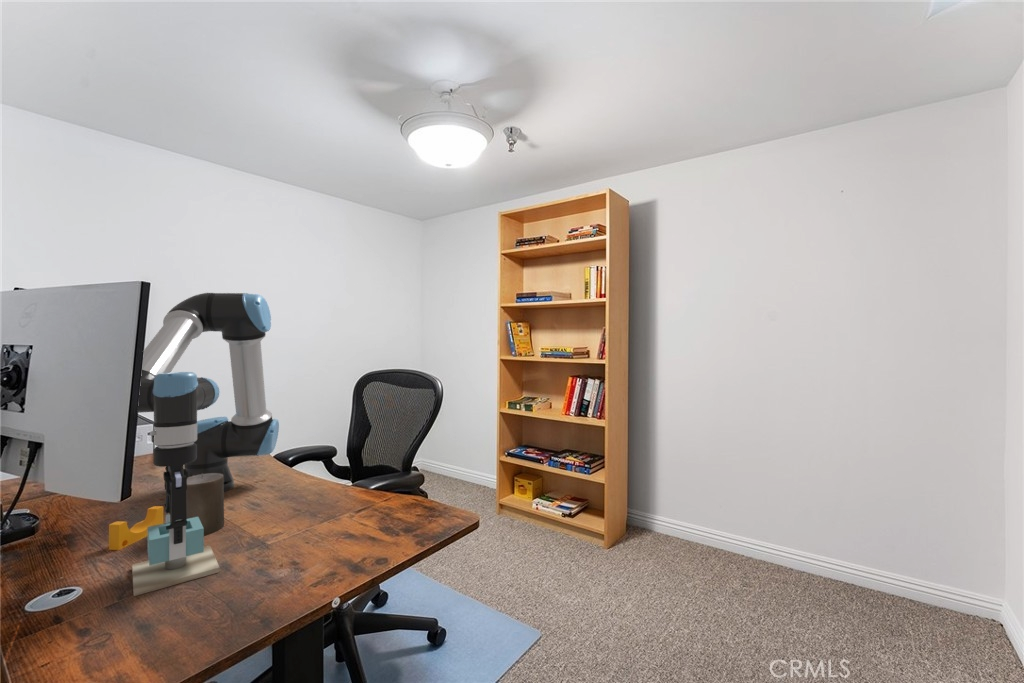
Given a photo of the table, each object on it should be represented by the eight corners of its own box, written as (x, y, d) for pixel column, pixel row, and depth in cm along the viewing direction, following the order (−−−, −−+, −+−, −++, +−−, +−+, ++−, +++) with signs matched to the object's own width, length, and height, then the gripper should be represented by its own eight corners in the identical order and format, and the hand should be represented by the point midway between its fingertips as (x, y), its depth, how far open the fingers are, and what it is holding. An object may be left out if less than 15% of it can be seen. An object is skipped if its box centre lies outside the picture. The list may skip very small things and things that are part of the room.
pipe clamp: (148, 530, 118) (148, 505, 118) (163, 531, 117) (163, 506, 117) (102, 551, 106) (102, 524, 106) (119, 552, 105) (119, 524, 105)
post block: (132, 569, 97) (132, 531, 97) (209, 549, 106) (209, 515, 106) (133, 596, 87) (133, 554, 87) (219, 572, 96) (219, 534, 96)
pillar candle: (232, 527, 119) (232, 471, 119) (191, 542, 110) (191, 481, 110) (211, 521, 123) (211, 466, 124) (170, 534, 115) (170, 475, 115)
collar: (147, 550, 97) (147, 527, 97) (198, 538, 103) (198, 516, 103) (149, 565, 90) (149, 540, 90) (203, 551, 96) (203, 528, 96)
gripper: (150, 439, 102) (150, 538, 102) (156, 456, 86) (155, 575, 86) (191, 434, 107) (190, 529, 107) (203, 450, 91) (203, 562, 91)
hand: (175, 549), depth 96 cm, fingers closed on collar, 9 cm apart
